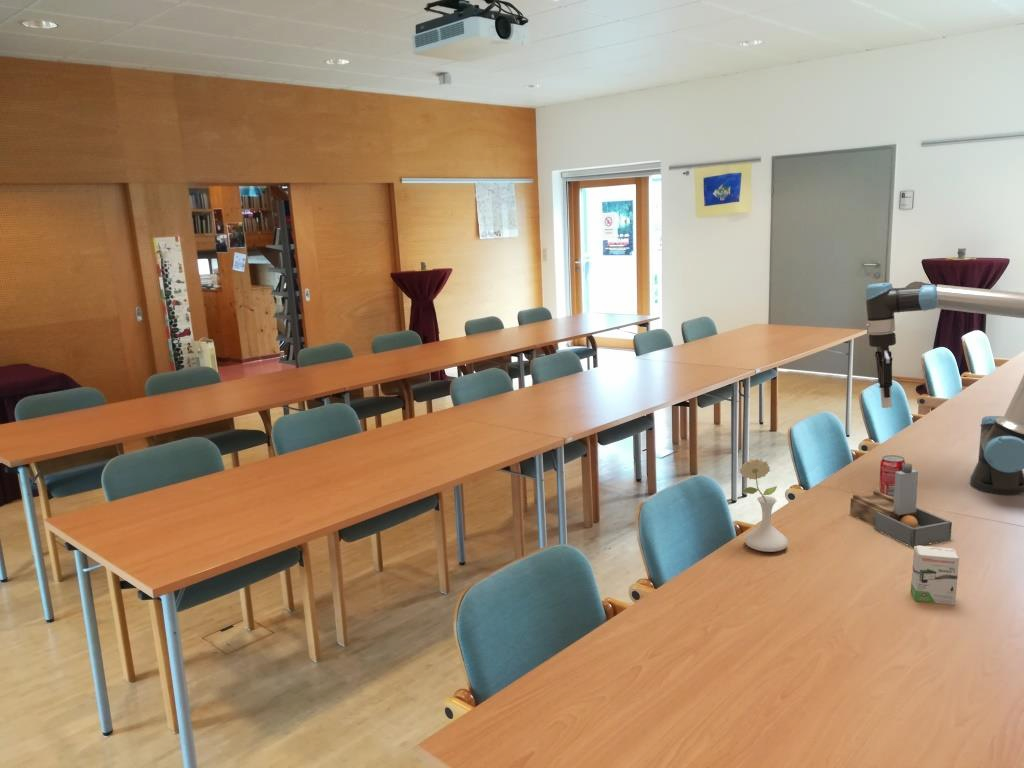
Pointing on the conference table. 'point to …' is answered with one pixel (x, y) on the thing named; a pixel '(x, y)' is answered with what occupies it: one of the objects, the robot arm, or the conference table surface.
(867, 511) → the wooden box
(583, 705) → the conference table surface
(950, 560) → the ink box
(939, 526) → the tray
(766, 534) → the flower in vase
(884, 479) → the soda can
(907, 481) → the block with cylinder top
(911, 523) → the ball
